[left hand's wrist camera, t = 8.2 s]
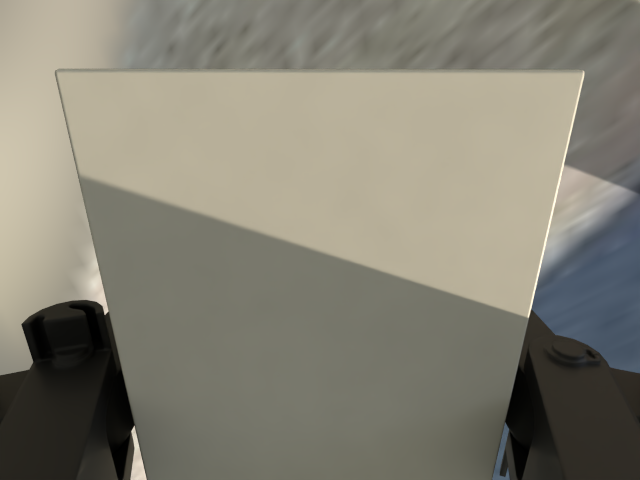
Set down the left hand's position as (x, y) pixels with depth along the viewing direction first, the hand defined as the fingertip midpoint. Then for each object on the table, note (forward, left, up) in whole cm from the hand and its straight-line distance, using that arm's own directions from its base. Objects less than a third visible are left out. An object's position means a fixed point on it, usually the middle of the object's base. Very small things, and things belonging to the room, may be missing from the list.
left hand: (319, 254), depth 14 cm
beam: (+18, +31, 0) cm, 35 cm away
